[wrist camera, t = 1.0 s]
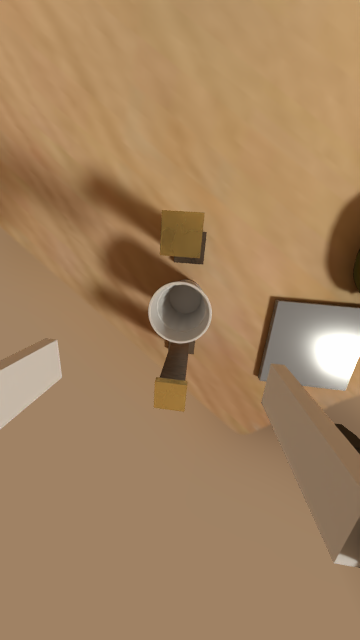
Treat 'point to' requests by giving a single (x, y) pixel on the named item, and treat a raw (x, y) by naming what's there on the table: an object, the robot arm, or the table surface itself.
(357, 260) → the fruit
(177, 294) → the cup
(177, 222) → the post
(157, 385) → the post
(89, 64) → the table surface
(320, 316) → the pad
